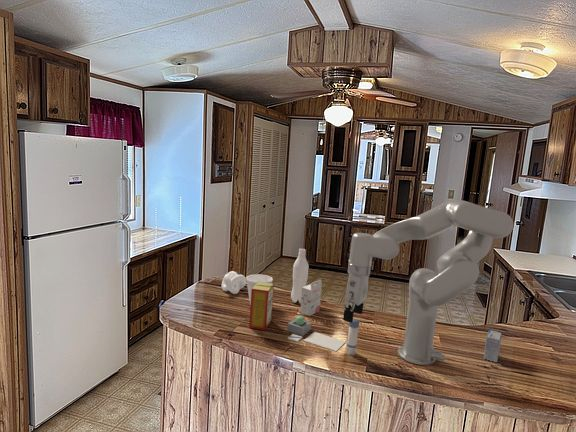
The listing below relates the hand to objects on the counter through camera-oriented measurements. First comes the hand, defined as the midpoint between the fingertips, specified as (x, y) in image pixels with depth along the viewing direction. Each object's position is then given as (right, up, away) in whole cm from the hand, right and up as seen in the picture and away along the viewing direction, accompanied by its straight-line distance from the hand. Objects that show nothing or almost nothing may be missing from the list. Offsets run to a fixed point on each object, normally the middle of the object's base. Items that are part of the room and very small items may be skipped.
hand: (352, 317), depth 138 cm
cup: (-36, -5, +40) cm, 54 cm away
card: (-20, -10, +10) cm, 24 cm away
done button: (-18, -8, +17) cm, 26 cm away
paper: (-9, -11, +9) cm, 17 cm away
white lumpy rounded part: (-50, -2, +55) cm, 74 cm away
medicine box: (+51, -17, +7) cm, 54 cm away
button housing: (-18, -9, +17) cm, 26 cm away
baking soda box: (-33, -8, +20) cm, 40 cm away
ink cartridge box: (-13, -7, +36) cm, 39 cm away
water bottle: (-18, -5, +48) cm, 51 cm away
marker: (0, -13, +2) cm, 13 cm away
